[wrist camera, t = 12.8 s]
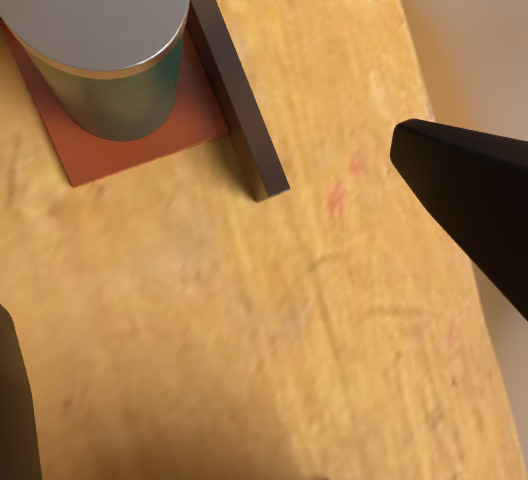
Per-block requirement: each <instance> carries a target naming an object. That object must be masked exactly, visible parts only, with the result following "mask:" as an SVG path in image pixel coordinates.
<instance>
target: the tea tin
mask: <svg viewBox="0 0 528 480" xmlns="http://www.w3.org/2000/svg"><path fill="white" fill-rule="evenodd" d="M189 3H190V0H0V17H1V18H2V20H3V21H4V23H5V24H6V25H7V27H8V28H9V30H10V31H11V32H12V34H13V35H14V36H15V37H16V38H17V40H18V41H19V42H20V43H21V45H22V46H23V48H24V49H25V51H26V52H27V54H28V55H29V57H30V58H31V60H32V61H33V63H34V64H35V66H36V67H37V69H38V70H39V72H40V73H41V75H42V76H43V78H44V79H45V81H46V82H47V84H48V85H49V87H50V88H51V90H52V91H53V93H54V94H55V96H56V97H57V99H58V100H59V102H60V103H61V105H62V106H63V108H64V109H65V110H66V112H67V113H68V115H69V116H70V117H71V118H72V119H73V121H74V122H75V123H77V124H78V125H79V126H80V127H81V128H83V129H84V130H86V131H87V132H89V133H91V134H93V135H95V136H97V137H100V138H103V139H106V140H111V141H133V140H137V139H141V138H143V137H146V136H148V135H150V134H152V133H153V132H155V131H156V130H157V129H159V128H160V127H161V126H162V125H163V124H164V123H165V122H166V120H167V119H168V117H169V116H170V114H171V112H172V110H173V107H174V104H175V99H176V92H177V84H178V77H179V69H180V61H181V53H182V45H183V37H184V29H185V24H186V21H187V16H188V10H189Z"/></svg>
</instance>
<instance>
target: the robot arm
mask: <svg viewBox="0 0 528 480" xmlns="http://www.w3.org/2000/svg"><path fill="white" fill-rule="evenodd" d="M390 159H391V162H392V164H393V165H394V167H395V168H396V169H397V171H398V172H399V173H400V175H401V176H402V178H403V179H404V180H405V182H406V183H407V184H408V186H409V187H410V189H411V190H412V191H413V193H414V194H415V195H416V197H417V198H418V200H419V201H420V202H421V204H422V205H423V206H424V207H425V209H426V210H427V211H428V212H429V214H430V215H431V216H432V217H433V218H434V219H435V220H436V221H437V222H438V224H439V225H440V226H441V227H442V228H443V229H444V230H445V231H446V232H447V233H448V235H449V236H450V237H451V238H452V239H453V240H454V241H455V242H456V243H457V245H458V246H459V247H460V248H461V249H462V250H463V251H464V252H465V253H466V254H467V256H468V257H469V258H470V259H471V260H472V261H473V262H474V263H475V264H476V265H477V266H478V268H479V269H480V270H481V271H482V272H483V273H484V274H485V275H486V276H487V277H488V279H489V280H490V281H491V282H492V283H493V284H494V285H495V286H496V287H497V289H498V290H499V291H500V292H501V293H502V294H503V295H504V296H505V297H506V298H507V299H508V301H509V302H510V303H511V304H512V305H513V306H514V307H515V308H516V309H517V310H518V312H519V313H520V314H521V315H522V316H523V317H524V318H525V319H526V320H527V322H528V142H527V141H522V140H517V139H513V138H508V137H502V136H498V135H493V134H488V133H482V132H478V131H473V130H468V129H463V128H458V127H453V126H449V125H443V124H439V123H434V122H429V121H424V120H419V119H409V120H406V121H403V122H401V123H399V124H397V125H396V127H395V128H394V132H393V138H392V143H391V149H390ZM0 480H42V473H41V465H40V457H39V448H38V440H37V432H36V423H35V415H34V407H33V400H32V393H31V388H30V384H29V380H28V376H27V372H26V369H25V365H24V361H23V357H22V354H21V350H20V346H19V342H18V338H17V335H16V331H15V327H14V323H13V320H12V318H11V316H10V314H9V313H8V311H7V310H6V309H5V308H4V307H3V306H2V305H1V304H0Z"/></svg>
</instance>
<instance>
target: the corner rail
mask: <svg viewBox="0 0 528 480" xmlns="http://www.w3.org/2000/svg"><path fill="white" fill-rule="evenodd" d="M0 24H1V26H2V29H3V31H4V33H5V35H6V38H7V40H8V42H9V44H10V47H11V49H12V51H13V53H14V56H15V58H16V60H17V62H18V65H19V67H20V69H21V72H22V74H23V76H24V78H25V81H26V83H27V85H28V87H29V90H30V92H31V94H32V96H33V99H34V101H35V103H36V105H37V108H38V110H39V112H40V114H41V117H42V119H43V121H44V123H45V126H46V128H47V130H48V132H49V135H50V137H51V139H52V142H53V144H54V146H55V148H56V151H57V153H58V155H59V157H60V160H61V162H62V164H63V166H64V169H65V171H66V173H67V175H68V178H69V180H70V182H71V184H72V187H73V188H76V187H79V186H82V185H84V184H87V183H90V182H93V181H96V180H99V179H102V178H104V177H107V176H110V175H113V174H116V173H119V172H122V171H124V170H127V169H130V168H133V167H136V166H139V165H141V164H144V163H147V162H150V161H153V160H156V159H159V158H161V157H164V156H167V155H170V154H173V153H176V152H179V151H181V150H184V149H187V148H190V147H193V146H196V145H199V144H201V143H204V142H207V141H210V140H213V139H216V138H218V137H221V136H224V135H227V134H230V137H231V139H232V142H233V144H234V146H235V149H236V151H237V154H238V156H239V159H240V161H241V164H242V166H243V169H244V171H245V174H246V176H247V179H248V181H249V184H250V186H251V189H252V191H253V194H254V196H255V198H256V201H257V203H259V202H261V201H264V200H266V199H269V198H271V197H274V196H276V195H278V194H281V193H283V192H285V191H288V190H290V186H289V184H288V181H287V179H286V176H285V174H284V171H283V169H282V166H281V164H280V161H279V158H278V156H277V153H276V151H275V148H274V146H273V143H272V141H271V138H270V136H269V133H268V131H267V128H266V126H265V123H264V121H263V118H262V115H261V113H260V110H259V108H258V105H257V103H256V100H255V98H254V95H253V93H252V90H251V88H250V85H249V83H248V80H247V78H246V75H245V72H244V70H243V67H242V65H241V62H240V60H239V57H238V55H237V52H236V50H235V47H234V45H233V42H232V40H231V37H230V35H229V32H228V29H227V27H226V24H225V22H224V19H223V17H222V14H221V12H220V9H219V7H218V4H217V2H216V0H190V3H189V10H188V16H187V21H186V24H185V29H184V37H183V45H182V53H181V61H180V69H179V77H178V84H177V92H176V99H175V104H174V107H173V110H172V112H171V114H170V116H169V117H168V119H167V120H166V122H165V123H164V124H163V125H162V126H161V127H160V128H159V129H157V130H156V131H155V132H153V133H152V134H150V135H148V136H146V137H143V138H141V139H137V140H133V141H111V140H106V139H103V138H100V137H97V136H95V135H93V134H91V133H89V132H87V131H86V130H84V129H83V128H81V127H80V126H79V125H78V124H77V123H75V122H74V121H73V119H72V118H71V117H70V116H69V115H68V113H67V112H66V110H65V109H64V108H63V106H62V105H61V103H60V102H59V100H58V99H57V97H56V96H55V94H54V93H53V91H52V90H51V88H50V87H49V85H48V84H47V82H46V81H45V79H44V78H43V76H42V75H41V73H40V72H39V70H38V69H37V67H36V66H35V64H34V63H33V61H32V60H31V58H30V57H29V55H28V54H27V52H26V51H25V49H24V48H23V46H22V45H21V43H20V42H19V41H18V40H17V38H16V37H15V36H14V35H13V34H12V32H11V31H10V30H9V28H8V27H7V25H6V24H5V23H4V21H3V20H2V18H1V17H0Z"/></svg>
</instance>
